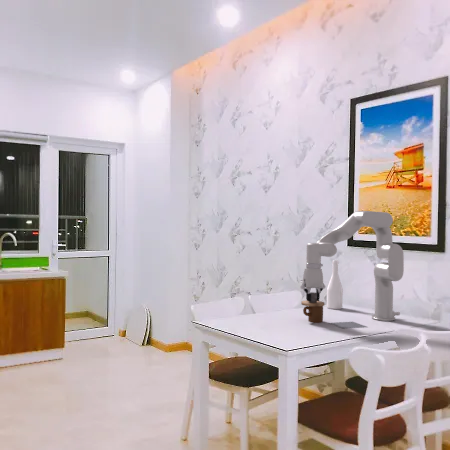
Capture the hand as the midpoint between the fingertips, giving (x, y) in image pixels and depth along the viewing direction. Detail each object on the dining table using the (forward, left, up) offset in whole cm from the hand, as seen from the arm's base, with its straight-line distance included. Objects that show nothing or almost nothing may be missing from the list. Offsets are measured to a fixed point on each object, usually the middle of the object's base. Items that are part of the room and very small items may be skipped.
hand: (312, 300), depth 263 cm
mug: (0, 0, -12) cm, 12 cm away
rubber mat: (-14, +12, -12) cm, 22 cm away
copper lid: (0, 0, -2) cm, 2 cm away
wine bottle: (-36, -39, -12) cm, 54 cm away
